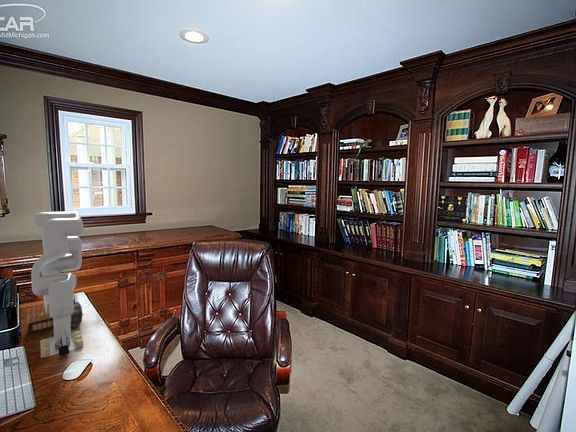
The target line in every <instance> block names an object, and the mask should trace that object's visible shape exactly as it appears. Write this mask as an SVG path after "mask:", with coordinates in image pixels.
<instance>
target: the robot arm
mask: <svg viewBox="0 0 576 432" xmlns="http://www.w3.org/2000/svg"><path fill="white" fill-rule="evenodd" d="M33 222H34V224H35V226H36V227H37V228H39V230H41V240H42V241H41V242H42V252H43V254H41V255H40V256H39V257H38V258H37V259H36V260H35V262H34V263H33V265H32V268H31V274H30V277H31V278H30V279H31V282H30V283H31V291H32V293H33V294H34V295H35V296H41V297H42V296H43V305H44V306H45V310H46V317H47V306H48V304H49V309H50V317H52V318H53V328H52V330H53V337H54V341H55V343H57V342H59V345H58V348H59V353H58V357H64V356H66V355H69V354H70V350H69V343H68V340H70V336H71V333H72V330H71V320H70V315H71V314H72V313H73V312H74V305H73V299H74V295H73V294H74V289H75V287H76V286H77V282H78V279H77V276H76V275H75V274H74V273H72V272H71V271H77V270H79V269H81V267H82V262H83V256H82V255H83V245H82V244H83V243H82V239H81V237H79V236H82V235H83V234H84V223H83V219H82V217H81V215H80V213H79V212H78V211H41V212H37V213H35V214H34V215H33ZM63 272H64V273H63ZM41 275H42V276H41ZM41 315H42V312H41Z"/></svg>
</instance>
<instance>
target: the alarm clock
mask: <svg viewBox="0 0 576 432" xmlns="http://www.w3.org/2000/svg"><path fill="white" fill-rule="evenodd" d="M73 305H74V312H73V313H72V314H71V315H70V320H71V327H73V330H74V331H77V330H76V326H79V325H80V326H81V323H82V321H83V315H84V314H83V309H82V305H81V303H80V302H78V301H76V296H75V294H74V293H73Z"/></svg>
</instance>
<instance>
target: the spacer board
mask: <svg viewBox="0 0 576 432" xmlns="http://www.w3.org/2000/svg"><path fill="white" fill-rule="evenodd" d="M81 333H82V331H81V330H74V331H73V332H72V331H71V336H70V346H69V351H73V350H76V349H81V348H83V347H85V345H84V338H83V335H82V334H81ZM54 355H59V350H56V349H55V341H54V336H52V337H48V338H43V339H41V340H40V358H41V359H42V358H46V357H50V356H54Z"/></svg>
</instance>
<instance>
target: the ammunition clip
mask: <svg viewBox="0 0 576 432" xmlns="http://www.w3.org/2000/svg"><path fill="white" fill-rule="evenodd" d="M41 313H42V315H41ZM26 314H27V316H26V322H27V323H26V325H27V328H26V329H27V330H26V331H27V335H31V334H36V333H39V332H44V331H47V330H53V318H52V317H50V309H49V304H48V306H47V317H46V310H45V306H44V304H43V305H42V310H41V307H40V306H37V311H36V308H35V307H34V306H33V308H32V312H31V309H30V307H28V308H27V312H26Z"/></svg>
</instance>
